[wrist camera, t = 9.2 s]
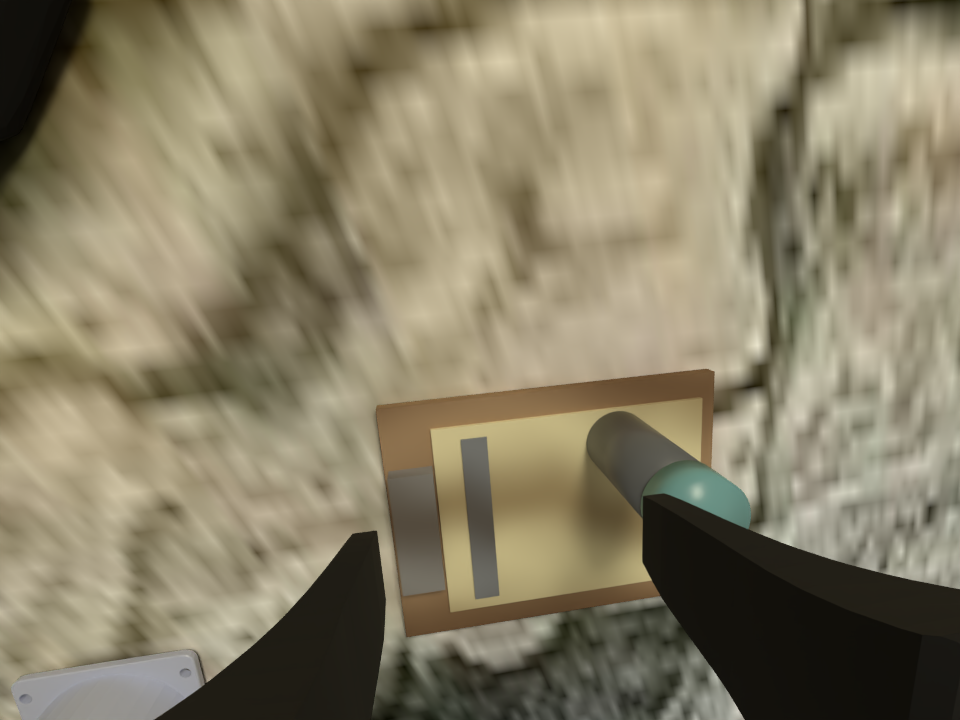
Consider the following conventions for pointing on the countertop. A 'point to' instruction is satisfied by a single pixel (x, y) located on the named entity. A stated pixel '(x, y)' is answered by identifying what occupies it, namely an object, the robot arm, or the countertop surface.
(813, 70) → the countertop surface
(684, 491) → the marker
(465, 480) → the clipboard
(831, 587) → the robot arm
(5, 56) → the electric trimmer
